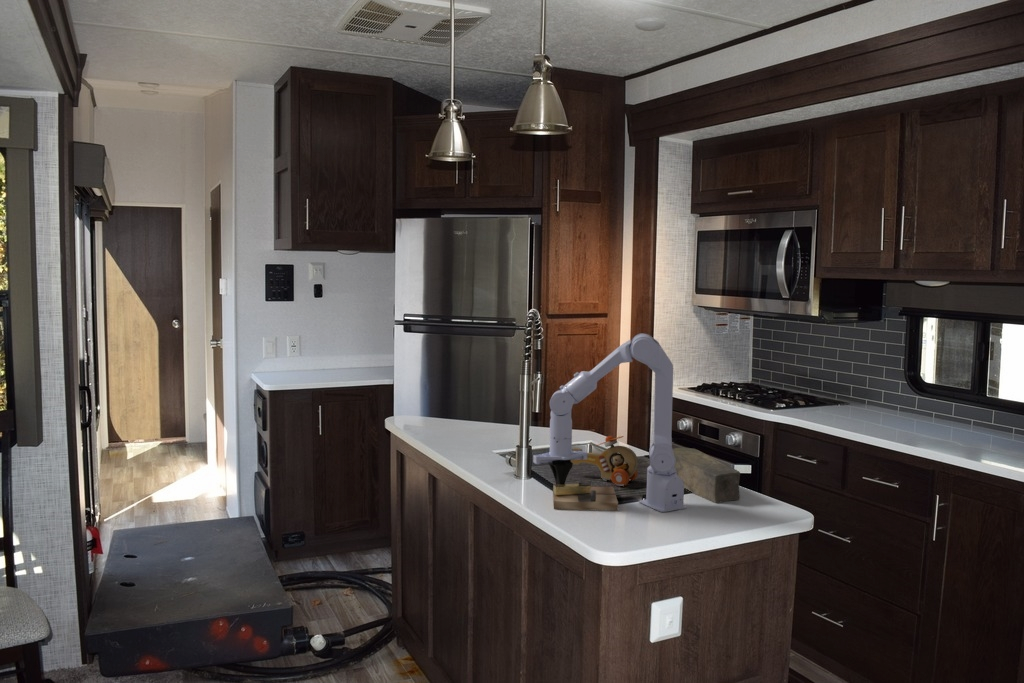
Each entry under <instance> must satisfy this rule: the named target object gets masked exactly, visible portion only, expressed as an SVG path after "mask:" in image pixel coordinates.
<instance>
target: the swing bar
mask: <svg viewBox="0 0 1024 683" xmlns="http://www.w3.org/2000/svg"><path fill="white" fill-rule="evenodd" d="M553 486H554V487H553ZM553 486H552V493H553V492H554V493H555V495H564V494H583V493H590V489H591V487H592V482H591V481H590V480H579V481H578V483H565V484H558V485H556V484H553Z"/></svg>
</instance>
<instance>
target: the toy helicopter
mask: <svg viewBox="0 0 1024 683" xmlns="http://www.w3.org/2000/svg"><path fill="white" fill-rule="evenodd" d="M622 438H624V435H622V436H621V435H620V436H618V437H615V438H614V437H613V436H612V435H608V436H606V437H605V439H604V440H605V442H601V443H598V444H597V445H596V447H598V446H600V445H603V444H604V446H605V448H606V449H604V450H603V451H602V452H601V453H600V452H599V453H598V452H587V460H583V459H579V460H571V462H572V463H573V466H578V465H581V464H585V465H586V464H587V465H592V466H596V467H597V468H598V470H599V471H600V472H601V475H600V478H606V479H611V480H610V481H611V482H612V484H613V483H617V484H624V485H625V486H627V485H628V483H630V482H629V479H631V480H633V481H634V479H635V480H636V479H637V477H638V470H637V468H638V465H639V464H638V456H637V454H636V453H635V451H633V449H631V448H630V447H627V446H624V445H615V444H617V443H618V439H622ZM608 447H609V448H608ZM572 451H584V450H583V449H582V448H579V447H574V448H572ZM626 484H627V485H626Z"/></svg>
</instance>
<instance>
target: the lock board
mask: <svg viewBox="0 0 1024 683" xmlns="http://www.w3.org/2000/svg"><path fill="white" fill-rule="evenodd" d="M553 487H554V485H553V486H552V488H553ZM552 500H553V510H575V511H577V510H578V511H581V510H582V511H583V510H584V511H585V510H586V511H616V512H617V511H618V510H619V501H618V499H617V495H616V492H615V488H614V486H591V489H590V493H583V494H564V495H555V493H554V492H553V491H552Z"/></svg>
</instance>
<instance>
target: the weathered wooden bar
mask: <svg viewBox="0 0 1024 683" xmlns="http://www.w3.org/2000/svg"><path fill="white" fill-rule="evenodd" d="M673 452H674V457H675V466H674V468H676V474H677V476H678V477H679V478H681V479H682V481H683V483H684V488H686V489H688V490H689V491H691V492H692V493H691V492H690V493H691V494H693V495H695V496H699V497H701V498H702V499H705V500H708V501H709V502H710V503H714V504H720V503H724V502H729V501H738V500H740V476H741V472H740V470H737V469H736V468H733V467H731V466H728V465H727V464H725V463H723V462H721V461H720V460H718V459H717V458H715V457H712V456H710V455H708V454H706V453H704V452H703V451H700V450H699V449H696V448H690V447H675V448H673ZM689 491H688V492H689Z"/></svg>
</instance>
